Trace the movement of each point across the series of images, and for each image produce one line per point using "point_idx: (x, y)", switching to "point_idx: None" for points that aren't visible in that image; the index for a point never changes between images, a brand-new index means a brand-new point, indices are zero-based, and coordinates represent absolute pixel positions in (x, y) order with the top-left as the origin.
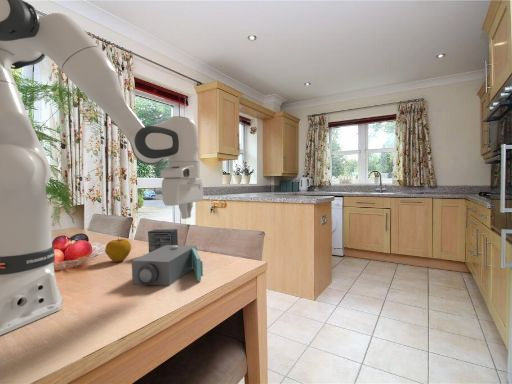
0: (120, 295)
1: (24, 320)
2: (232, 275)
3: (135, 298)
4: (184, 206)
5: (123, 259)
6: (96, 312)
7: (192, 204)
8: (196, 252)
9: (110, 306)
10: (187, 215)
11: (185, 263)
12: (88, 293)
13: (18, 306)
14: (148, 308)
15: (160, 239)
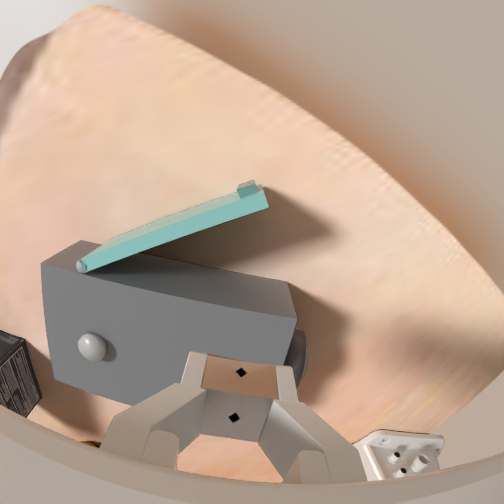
0: (335, 376)
1: (416, 438)
2: (204, 80)
3: (361, 337)
4: (354, 467)
5: (90, 443)
6: (407, 374)
7: (110, 434)
8: (151, 235)
9: (389, 365)
10: (280, 379)
11: (160, 271)
12: None
13: (425, 455)
14: (421, 284)
15: (6, 400)
